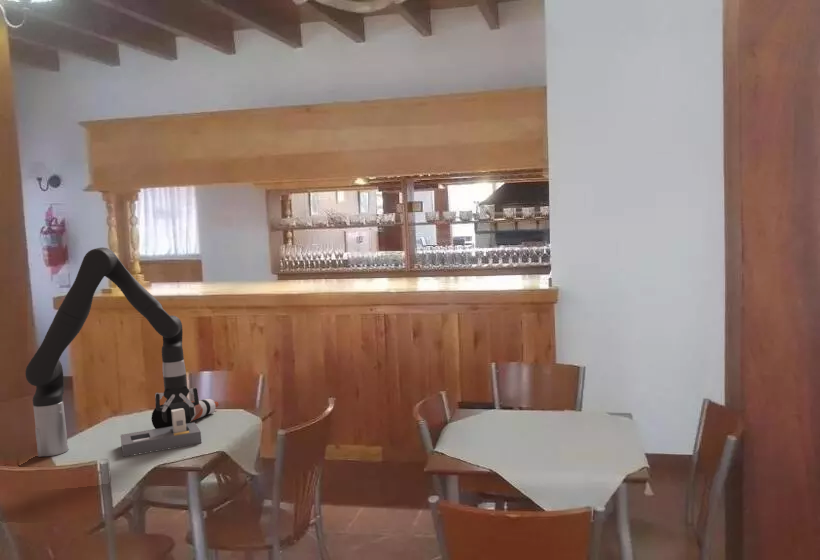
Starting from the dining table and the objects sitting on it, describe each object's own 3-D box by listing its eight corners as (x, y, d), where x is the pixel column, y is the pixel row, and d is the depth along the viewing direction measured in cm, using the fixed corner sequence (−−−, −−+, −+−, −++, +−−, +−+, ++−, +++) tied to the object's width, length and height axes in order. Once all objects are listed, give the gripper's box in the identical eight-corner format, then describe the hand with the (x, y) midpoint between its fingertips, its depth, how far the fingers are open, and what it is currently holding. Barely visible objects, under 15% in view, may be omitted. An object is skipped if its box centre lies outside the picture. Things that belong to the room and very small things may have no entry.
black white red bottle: (221, 421, 296) (231, 399, 294) (168, 438, 263) (179, 413, 262) (202, 409, 299) (211, 387, 297) (147, 424, 266) (157, 399, 265)
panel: (123, 457, 242) (122, 444, 241) (121, 446, 254) (120, 434, 254) (201, 443, 252) (200, 431, 251) (195, 433, 264) (194, 421, 264)
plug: (175, 444, 252) (172, 412, 251) (174, 440, 256) (171, 410, 256) (187, 442, 254) (184, 410, 253) (185, 438, 258) (182, 408, 257)
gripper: (153, 378, 247) (158, 425, 249) (197, 372, 253) (201, 418, 254) (151, 375, 254) (156, 420, 255) (194, 369, 260) (198, 413, 261)
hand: (178, 419), depth 255 cm, fingers open, 8 cm apart
